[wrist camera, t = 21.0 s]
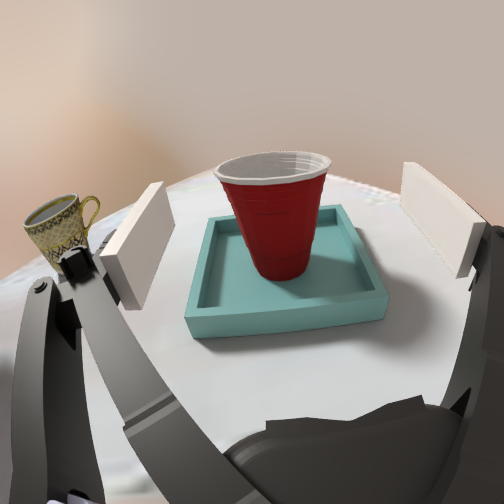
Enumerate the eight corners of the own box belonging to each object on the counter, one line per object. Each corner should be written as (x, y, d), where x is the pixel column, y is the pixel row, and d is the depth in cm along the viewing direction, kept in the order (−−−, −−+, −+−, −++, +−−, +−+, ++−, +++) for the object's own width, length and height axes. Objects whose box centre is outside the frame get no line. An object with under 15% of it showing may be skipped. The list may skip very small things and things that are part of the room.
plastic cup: (330, 237, 36) (328, 142, 29) (331, 299, 27) (335, 178, 20) (244, 237, 38) (230, 147, 31) (222, 295, 30) (195, 184, 23)
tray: (193, 338, 26) (184, 317, 25) (213, 236, 41) (208, 218, 40) (383, 318, 25) (389, 295, 23) (340, 223, 40) (341, 204, 38)
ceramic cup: (45, 290, 36) (15, 234, 30) (54, 257, 43) (31, 208, 38) (117, 262, 39) (92, 200, 34) (116, 233, 47) (97, 180, 41)
